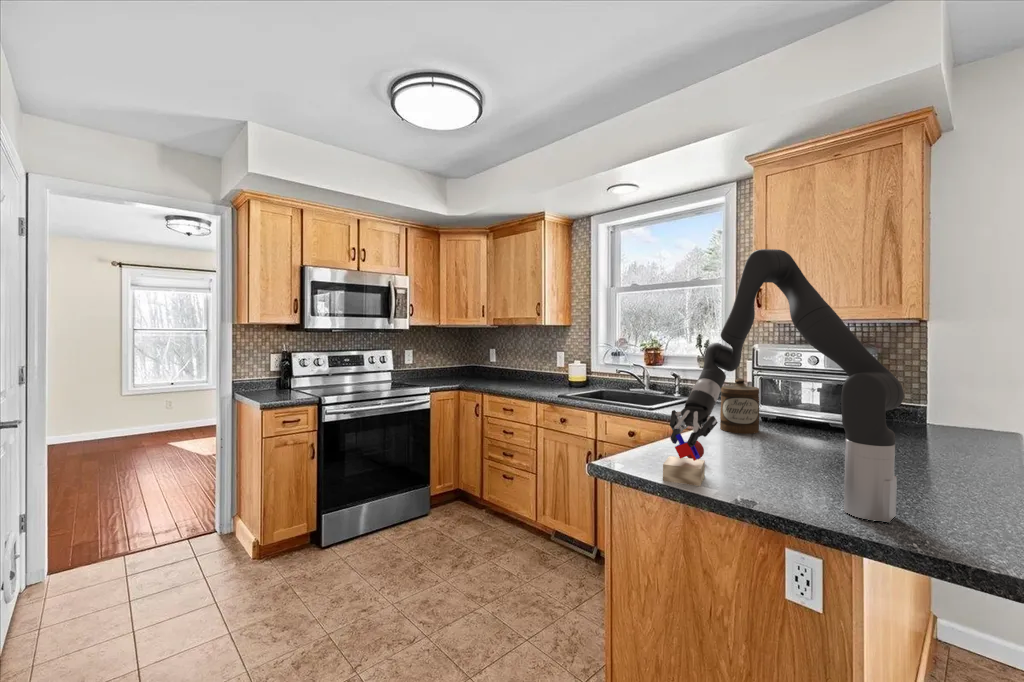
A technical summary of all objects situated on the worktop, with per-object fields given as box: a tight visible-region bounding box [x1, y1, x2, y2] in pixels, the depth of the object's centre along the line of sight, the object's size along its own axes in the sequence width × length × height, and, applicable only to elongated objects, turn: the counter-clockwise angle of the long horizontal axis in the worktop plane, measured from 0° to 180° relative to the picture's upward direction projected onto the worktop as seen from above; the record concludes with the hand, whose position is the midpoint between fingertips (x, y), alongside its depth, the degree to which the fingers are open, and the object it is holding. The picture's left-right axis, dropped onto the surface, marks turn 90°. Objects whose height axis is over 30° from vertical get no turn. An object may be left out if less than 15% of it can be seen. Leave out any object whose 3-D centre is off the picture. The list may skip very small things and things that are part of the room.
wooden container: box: [719, 377, 760, 435], centre depth 204 cm, size 15×15×22 cm
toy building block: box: [674, 433, 701, 461], centre depth 139 cm, size 4×4×8 cm
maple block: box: [662, 455, 706, 487], centre depth 140 cm, size 10×10×5 cm
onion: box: [686, 440, 705, 460], centre depth 157 cm, size 6×6×8 cm
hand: (681, 443), depth 138 cm, fingers closed on toy building block, 4 cm apart
